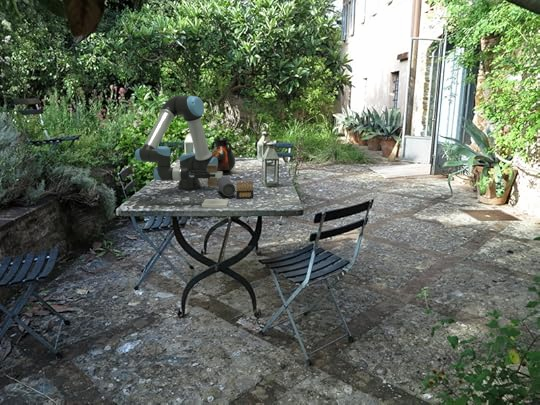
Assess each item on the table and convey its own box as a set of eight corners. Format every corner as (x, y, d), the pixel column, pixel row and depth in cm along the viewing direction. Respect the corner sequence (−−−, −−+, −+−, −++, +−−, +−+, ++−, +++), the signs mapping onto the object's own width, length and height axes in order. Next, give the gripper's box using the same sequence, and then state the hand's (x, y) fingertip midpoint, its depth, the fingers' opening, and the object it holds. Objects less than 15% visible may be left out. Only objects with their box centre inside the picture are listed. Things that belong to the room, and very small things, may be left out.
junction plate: (205, 201, 273) (205, 199, 273) (228, 201, 273) (228, 199, 273) (201, 207, 260) (201, 204, 259) (226, 207, 259) (226, 205, 259)
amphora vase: (202, 174, 360) (201, 138, 353) (220, 170, 377) (220, 136, 370) (223, 177, 348) (222, 140, 341) (241, 173, 365) (240, 138, 358)
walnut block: (208, 184, 265) (208, 164, 262) (217, 184, 265) (217, 164, 262) (207, 186, 261) (207, 165, 258) (216, 186, 261) (216, 165, 258)
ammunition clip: (236, 199, 280) (236, 180, 277) (236, 198, 282) (235, 179, 279) (253, 198, 282) (253, 179, 279) (253, 197, 283) (253, 178, 281)
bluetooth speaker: (215, 191, 302) (215, 176, 300) (229, 190, 304) (229, 175, 302) (221, 198, 281) (221, 182, 278) (236, 197, 283) (236, 182, 281)
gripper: (184, 177, 271) (223, 178, 271) (178, 183, 255) (219, 184, 254) (184, 165, 269) (223, 165, 269) (177, 170, 253) (219, 170, 252)
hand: (221, 174), depth 261 cm, fingers closed on walnut block, 4 cm apart
